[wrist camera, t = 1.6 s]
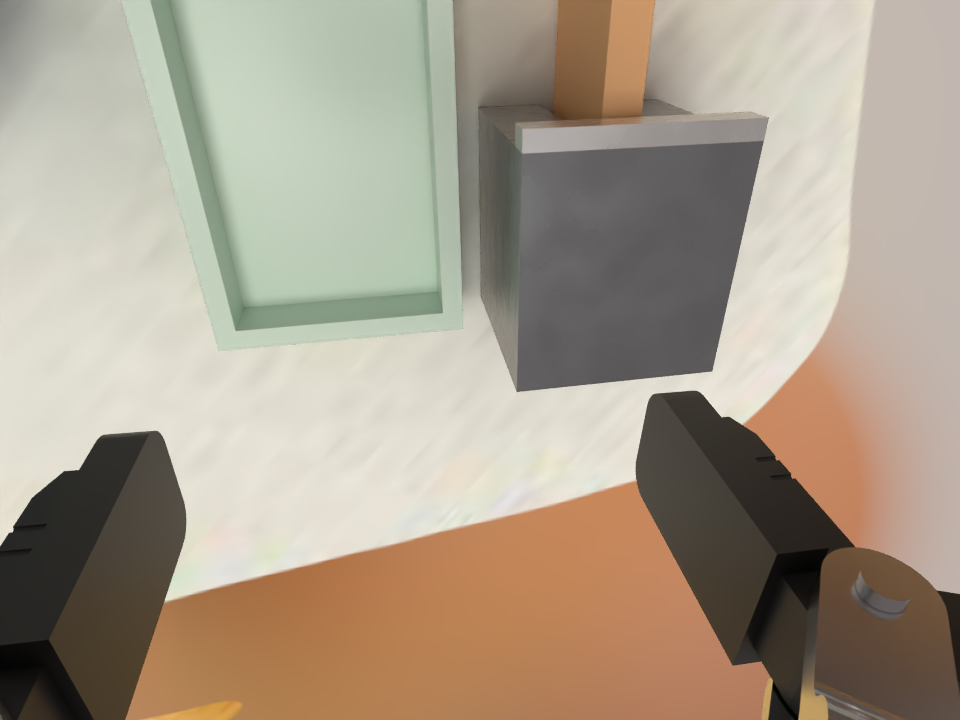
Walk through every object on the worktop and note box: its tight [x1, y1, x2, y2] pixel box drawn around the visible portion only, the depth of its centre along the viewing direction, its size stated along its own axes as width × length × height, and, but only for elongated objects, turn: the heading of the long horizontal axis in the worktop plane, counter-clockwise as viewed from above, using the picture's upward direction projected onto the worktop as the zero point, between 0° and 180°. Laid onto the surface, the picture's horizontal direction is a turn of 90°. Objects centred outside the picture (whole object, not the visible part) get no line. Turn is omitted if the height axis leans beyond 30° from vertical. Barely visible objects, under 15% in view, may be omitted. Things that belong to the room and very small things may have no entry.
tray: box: [121, 0, 463, 351], centre depth 27 cm, size 18×12×4 cm, turn 1°
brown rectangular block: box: [553, 0, 655, 120], centre depth 25 cm, size 10×2×7 cm, turn 1°
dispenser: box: [478, 100, 769, 392], centre depth 28 cm, size 11×9×10 cm
